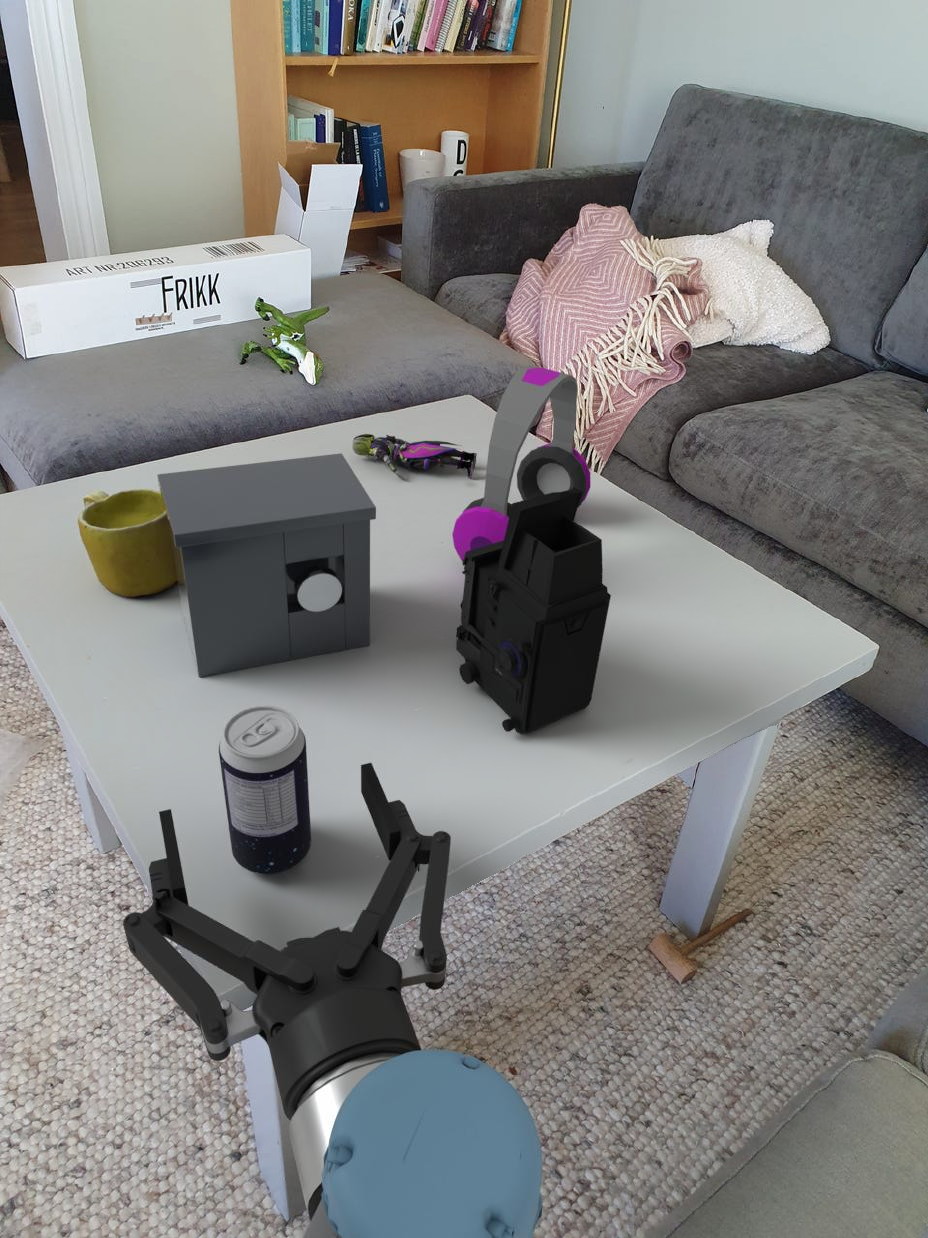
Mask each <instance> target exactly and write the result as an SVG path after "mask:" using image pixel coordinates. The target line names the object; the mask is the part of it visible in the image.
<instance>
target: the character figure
mask: <svg viewBox="0 0 928 1238" xmlns="http://www.w3.org/2000/svg"><path fill="white" fill-rule="evenodd" d="M385 436H386V437H385ZM385 436H380V437H379V436H378V437H375V435H373V434H370V433H363V434H359V435H356V436H355V437H354V438H353V440H352V446H351V447H352V451H353V452H354V453H355V454H356V455H358V456H362V457H366V458H371V457H373V458H376V459H375V461H381V462H385V464H386V465H387V466H388V468H389V469H390V470H391V472H392V473H394V474H395V475H396V476H397V478H398V479H400V480H402V481H406V478H405V477H404V475H403V474H401V473H400V471H399V470H398V469H397V467H396V466H395V464H394V462H396V463H398V465H399V466H401V467H404V468H407V469H409V470H411V469H412V468H418V469H419V468H420V469H424V470H430V469H432V468H433V467H437V466H440V468H444V466H453V467H456V469H457V470H462V471H466V473H467V478H468V479H470V480H471V479H472V478H473V472H474V470H473V469H475V468H476V464H477V455H478V453H477V452H468V451H465V450H462V451H461V450H459V449H457V448H455V447H450V446H457V444H455V443H452V442H448V441H442V440H441V441H440V440H421V441H413V442H408V441H406V440H404V439H400V438H397V437H396V436H395V435H389V434H386V435H385ZM444 445H449V446H444ZM458 446H459V447H462V446H463V445H461V444H458Z"/></svg>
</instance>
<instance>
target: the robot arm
mask: <svg viewBox="0 0 928 1238" xmlns="http://www.w3.org/2000/svg"><path fill="white" fill-rule="evenodd" d="M360 793H361V795H362V798H363V801H364V802H365V805H366V808H367V810H368V812H369V815H370V817H371V820H372V822H373V825H374V827H375V830H376V832H377V834H378V837H379V839H380V841H381V844H382V847H383V850H384V852H385V854H386V857H387V859H388V861H389V862H388V864H387V867H386V869H385V871H384V873H383V875H382V876H381V878H380V880H379V883H378V884H377V886H376V888H375V890H374V892H373V894H372V896H371V898H370V900H369V902H368V904H367V906H366V908H365V909H363V910H362V911H361V912H360V915H359V917H358V918H357V921H356V923H355V925H354V926H353V928H352V930H351V931H349V930H341V928H340V926H336V927H333V928H330V929H327V930H324V931H323V932H321V933H319V934H318V935H315V936H313V937H312V936H311V937H299V938H296V939H292V940H289V941H286V946H284V948H282V949H281V950H278V949H277V948H275V947H273V946H271V945H269V944H268V943H266V942H264V941H262V940H259V939H257V940H255V941H254V940H252V939H250V938H248V937H247V936H244V935H243V934H241V933H239V932H237V931H235V930H234V929H232V928H230V927H228V926H226V925H225V924H223V923H221V922H219V921H217V920H216V919H213V917H210V916H209V915H206V914H205V913H203V912H201V911H199V910H197V909H196V908H194V907H192V906H190V905H189V900H188V899H189V898H188V894H187V889H186V883H185V878H184V874H183V873H184V872H183V867H182V861H181V856H180V851H179V844H178V840H177V834H176V830H175V824H174V823H175V822H174V818H173V812H172V808H169V809H165V810H160V811H158V815H159V821H160V826H161V833H162V838H163V843H164V844H163V845H164V851H165V855H166V857H165V858H160V859H156V860H152V861H150V864H149V866H148V874H149V880H150V887H151V895H152V896H151V899H152V903H151V905H150V906H149V907H148V909H146V910H144V911H143V912H138V911H136V912H135V911H134V912H131V913H129V914H127V915H126V916H125V917H124V918H123V920H122V926H123V930H124V934H125V938H126V942H127V945H128V950H129V951H130V953H131V954H132V955H133V956H134V957H135V958H136V960H137V961H138V962H139V963H140V964H141V965H142V966H143V968H144V969H145V970H147V972H148V973H149V974H150V976H152V977H153V978H154V980H156V982H157V983H158V984H159V985H160V986H161V988H163V990H164V991H165V992H166V993H167V994H168V995H169V996H170V997H171V999H173V1001H174V1002H175V1003H176V1004H177V1005H178V1006H179V1008H181V1010H183V1011H184V1013H185V1014H186V1015H187V1016H188V1017H189V1018H190V1019H191V1020H192V1021H193V1023H194V1024H195V1025H196V1026H197V1027H198V1028H199V1029H200V1032H201V1037H202V1039H203V1043H204V1046H205V1048H206V1051H207V1055H208V1057H209V1058H210V1060H212V1061H214V1062H220V1061H223V1060H225V1059H226V1058H228V1057H229V1055H230V1054H231V1051H232V1048H231V1047H232V1046H234V1045H236V1044H238V1043H241V1042H243V1041H246V1040H248V1039H250V1038H252V1037H254V1036H257V1035H259V1036H260V1037H261V1038H262V1039H263V1040H264V1041H265V1043H266V1045H267V1047H268V1050H269V1054H270V1058H271V1063H272V1067H273V1071H274V1075H275V1079H276V1083H277V1088H278V1092H279V1097H280V1101H281V1104H282V1109H283V1113H284V1115H285V1118H287V1119H288V1120H289V1121H290V1122H289V1125H288V1134H289V1140H290V1144H291V1147H292V1152H293V1156H294V1160H295V1161H294V1162H295V1165H296V1169H297V1170H296V1171H297V1173H298V1174H297V1175H298V1176H299V1177H298V1178H299V1183H300V1187H301V1191H302V1195H303V1200H304V1204H305V1209H306V1211H307V1213H308V1217H309V1218H308V1219H309V1224H308V1226H307V1228H306V1230H305V1232H304V1234H303V1237H302V1238H534V1235H535V1230H536V1226H537V1225H538V1223H539V1221H540V1218H542V1216H543V1204H544V1203H543V1202H544V1197H543V1195H542V1193H541V1188H542V1181H543V1180H542V1179H543V1166H544V1165H543V1163H544V1162H543V1151H542V1145H541V1140H540V1136H539V1132H538V1129H537V1126H536V1124H535V1120H534V1117H533V1115H532V1113H531V1111H530V1109H529V1107H528V1105H527V1103H526V1102H525V1100H524V1099H523V1097H522V1096H521V1095H520V1093H519V1091H518V1090H517V1088H515V1087H514V1085H513V1084H512V1083H511V1082H510V1081H509V1080H508V1079H507V1078H506V1077H504V1076H503V1074H501V1073H500V1072H499V1071H498V1070H496V1069H495V1068H494V1067H491V1066H490V1065H489V1064H487V1063H485V1062H483V1061H482V1060H480V1059H479V1058H477V1057H475V1056H472V1055H468V1054H464V1053H462V1052H459V1051H455V1050H449V1049H435V1048H434V1049H433V1048H429V1049H427V1048H426V1049H422V1046H421V1044H420V1042H419V1038H418V1036H417V1033H416V1031H415V1028H414V1024H413V1022H412V1020H411V1017H410V1014H409V1012H408V1009H407V1006H406V1003H405V1001H404V998H403V995H402V988H406V987H411V986H416V985H420V984H425V986H426V987H427V988H428V989H430V990H432V991H437V990H440V989H442V988H443V987H444V985H445V982H446V972H447V960H448V956H447V955H448V954H447V950H446V947H445V944H444V940H443V937H442V933H441V932H442V923H443V914H444V907H445V898H446V889H447V883H448V882H447V881H448V873H449V865H450V856H451V855H450V854H451V853H450V852H451V843H452V838H451V837H452V836H451V835H450V833H448V831H444V830H439V831H436V832H434V833H433V835H424V834H421V833H420V832H418V830H417V829H416V826H415V824H414V822H413V820H412V818H411V816H410V814H409V811H408V809H407V807H406V805H405V803H404V802H403V801H401V799H397V800H392V801H389V800H388V798H387V796H386V793H385V791H384V789H383V786H382V784H381V781H380V780H379V777H378V775H377V772H376V770H375V768H374V766H373V763H372V762H368V763H364V764H360ZM421 865H428V866H427V872H426V878H425V879H426V880H425V884H424V885H425V886H424V893H423V899H422V907H421V914H420V919H419V920H420V921H419V936H418V940H415V941H414V942H413V944H411V946H409V948H408V950H407V957H406V959H405V960H404V961H401V962H399V961H398V960H397V959H396V958H394V957H393V956H391V955H390V954H388V953H387V952H385V951H383V950H382V948H383V945H384V941H385V939H386V937H387V934H388V933H389V930H390V928H391V926H392V924H393V921H394V920H395V917H396V915H397V913H398V911H399V909H400V907H401V905H402V903H403V900H404V899H405V897H406V894H407V892H408V890H409V888H410V886H411V884H412V882H413V880H414V878H415V875H416V873H417V872H418V873H420V869H421ZM170 941H171V942H173V943H175V944H176V945H178V946H180V947H182V948H183V949H185V950H187V951H188V952H190V953H192V954H194V955H196V956H197V957H199V958H201V960H204V961H206V962H207V963H209V964H211V965H213V966H215V967H216V968H218V969H220V970H222V971H223V972H224V973H227V974H229V975H230V976H232V977H234V978H235V979H237V980H239V981H240V982H242V983H243V984H244V985H245V987H247V989H248V990H249V991H250V992H252V993H254V994H255V995H256V996H255V999H254V1001H253V1003H252V1006H251V1009H250V1010H242V1009H240V1008H238V1006H237V1005H236V1004H235V1003H234V1002H232V1001H231V1000H229V999H222V1000H220V999H219V996H218V994H217V993H216V992H215V990H214V988H213V987H212V986H211V985H210V983H208V982H207V980H206V979H205V978H204V977H203V976H202V975H201V974H200V973H199V972H198V971H197V970H196V969H195V968H194V966H193V965H191V963H189V961H187V959H186V958H185V957H184V956H183V955H182V954H181V953H180V952H179V951H178V950H177V948H175V947H174V946H173V944H171V942H170Z"/></svg>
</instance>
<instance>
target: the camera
mask: <svg viewBox="0 0 928 1238" xmlns="http://www.w3.org/2000/svg"><path fill="white" fill-rule="evenodd" d="M582 493H583V491H581V490H579V489H576V488H574V487H573V488H572V489H571V490H567V491H563V492H552V493H549V494H545V495H542V496H538V497H535V498H531V499H527V500H524V501H523V500H520V501H516V502H512V503H511V504H512V507H511V512H510V516H509V520H508V525H507V529H506V533H505V538H504V540H503V541H500V542H496V543H493V544H490V545H486V546H483V547H480V548H476V549H473V550H470V551H466V553H465V556H464V558H463V561H462V560H461V564H462V566H463V570H462V572H461V573H462V575H464V584H463V585H464V586H463V594H462V600H461V602H460V605H459V607H460V609H461V614H460V622H461V623H460V625H459V626H458V627H456V633H455V636H456V646H455V649H456V651H457V652H458V653H459V654H460V655H461V656H462V657H463V658H464V661H465V663H462V664H460V665H459V675H460V678H461V680H462V681H463V683H464V684H466V685H469V684H472V683H476V684H477V685H478V686H479V687H480V688H481V689H482V690H483V691H484V692H485V694H487V696H489V698H490V699H492V700H493V702H494V703H495V704H496V705H497V706H498V707H499V708H500V709H501V710H502V711H503V712H504V714H506V715H507V717H508V718H506V719H504V720H502V722H501V726H502V728H503V730H504V731H505V732H507V733H509V732H512V731H513V730H514V731H515V732H516V733H518V734H523V733H526V734H529V733H532V732H535V731H537V730H538V729H542V728H543V727H546V726H548V725H551V724H552V723H555V722H557V721H559V720H562V719H564V718H567V717H569V716H571V715H573V714H575V713H578V712H580V711H582V710H585V709H587V708H588V707H589V706H590V704H591V702H592V698H593V692H594V688H595V681H596V676H597V672H598V666H599V661H600V655H601V650H602V644H603V639H604V634H605V630H606V624H607V619H608V613H609V609H610V602H611V597H612V595H611V593H609V592H608V587H607V586H606V585H605V584H604V583H603V540H602V538H600V537H598V536H597V535H596V534H595V533H593V532H591V531H590V530H589V529H586V528H585V527H584V526H583V525H580V524H579V523H577V522H575V518H576V514H577V511H578V509H579V507H580V506H579V502H580V499H581V496H582ZM578 506H579V507H578Z"/></svg>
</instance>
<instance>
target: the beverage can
mask: <svg viewBox="0 0 928 1238" xmlns="http://www.w3.org/2000/svg"><path fill="white" fill-rule="evenodd" d="M218 754H219V755H218V756H219V763H220V772H221V780H222V786H223V792H224V793H223V794H224V803H225V808H226V816H227V825H228V833H229V840H230V847H231V853H232V855H233V858H234V860H235V861H236V862H237V864H239V866H241V867H242V868H243V869H245V870H247V871H249V872H252V873H254V874H260V875H261V874H262V875H273V874H279V873H282V872H286V871H288V870H291V869H292V868H294V867H295V866H297V865H298V864H300V863H301V862H302V861H303V860H304V859H305V857H306V856H307V855H308V853H309V851H310V849H311V845H312V829H311V809H310V808H311V807H310V793H309V773H308V771H309V770H308V757H307V756H308V755H307V739H306V736H305V733H304V732H303V730H302V728H301V727H300V725H299V722H298V720H297V718H296V717H295V716H294V715H293V714H292V713H291V712H289V711H287V710H285V709H284V708H281V707H279V706H278V707H277V706H271V705H259V706H252V707H249V708H246V709H243V710H242V711H239V712H237V713H236V714H234V715H233V716H232V717H231V718H230V719H228V721H227V723H226V724H225V726H224V728H223V733H222V737H221V739H220V741H219V744H218Z"/></svg>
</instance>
